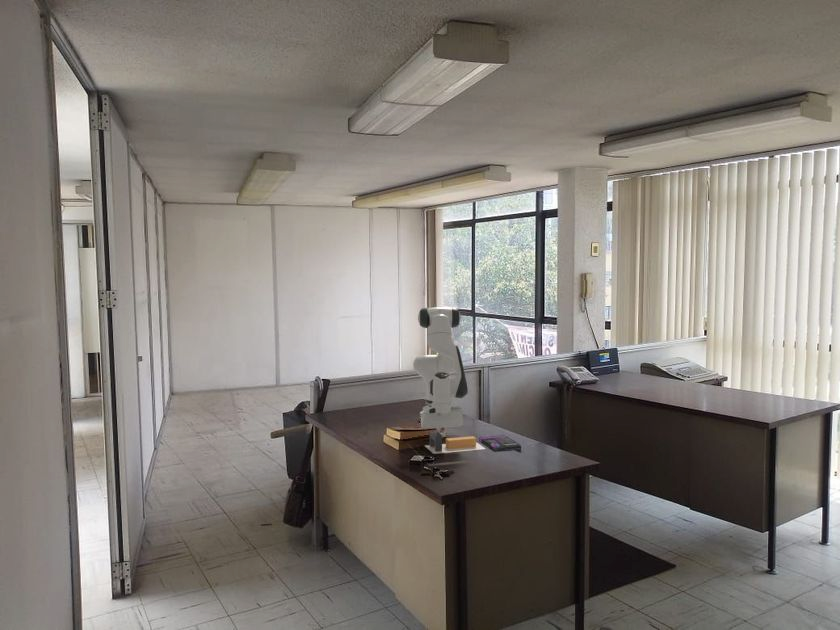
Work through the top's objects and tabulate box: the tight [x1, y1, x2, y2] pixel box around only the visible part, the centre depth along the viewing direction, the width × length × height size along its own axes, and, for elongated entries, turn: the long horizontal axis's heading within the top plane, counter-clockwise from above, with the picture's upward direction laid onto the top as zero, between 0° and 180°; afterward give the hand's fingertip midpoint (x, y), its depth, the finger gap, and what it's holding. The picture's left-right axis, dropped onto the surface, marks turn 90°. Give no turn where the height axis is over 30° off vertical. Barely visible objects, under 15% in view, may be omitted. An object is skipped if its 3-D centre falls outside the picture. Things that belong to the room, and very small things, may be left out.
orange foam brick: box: [445, 435, 477, 449], centre depth 292 cm, size 4×14×4 cm, turn 107°
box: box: [478, 434, 522, 452], centre depth 296 cm, size 14×4×20 cm
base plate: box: [424, 441, 486, 454], centre depth 291 cm, size 14×26×1 cm, turn 107°
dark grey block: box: [429, 430, 443, 451], centre depth 288 cm, size 10×3×7 cm, turn 17°
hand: (442, 436), depth 289 cm, fingers closed
